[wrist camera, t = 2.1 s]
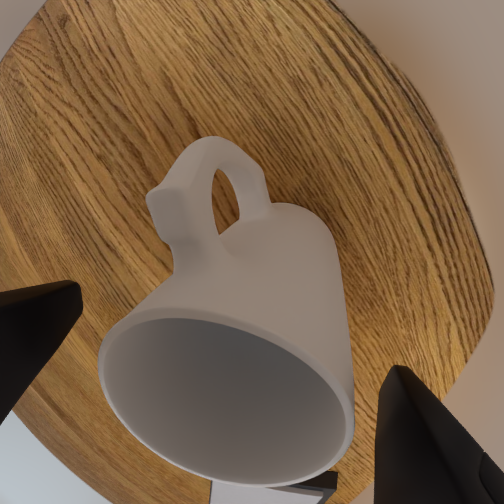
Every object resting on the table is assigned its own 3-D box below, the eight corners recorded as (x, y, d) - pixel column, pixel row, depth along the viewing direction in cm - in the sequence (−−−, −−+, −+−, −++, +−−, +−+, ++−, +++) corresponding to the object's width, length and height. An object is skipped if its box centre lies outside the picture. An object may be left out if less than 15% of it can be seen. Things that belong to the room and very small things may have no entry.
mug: (347, 302, 18) (353, 488, 7) (239, 312, 20) (156, 472, 9) (319, 126, 15) (312, 80, 4) (199, 152, 17) (18, 187, 6)
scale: (339, 472, 24) (337, 495, 21) (307, 510, 28) (303, 528, 26) (219, 448, 26) (210, 470, 23) (213, 491, 30) (207, 508, 28)
